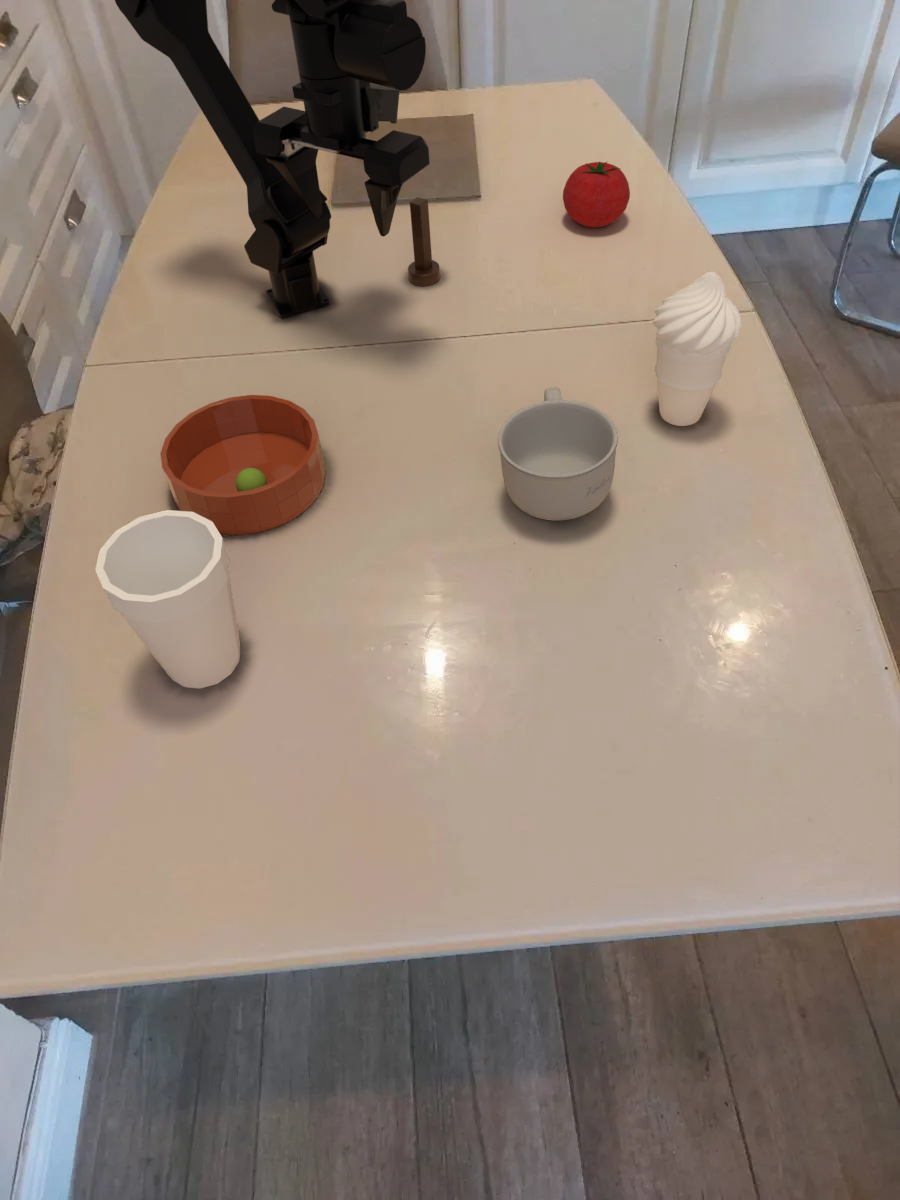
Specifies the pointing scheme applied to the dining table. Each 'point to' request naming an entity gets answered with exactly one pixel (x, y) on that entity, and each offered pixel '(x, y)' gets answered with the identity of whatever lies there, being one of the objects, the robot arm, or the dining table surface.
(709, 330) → the ice cream cone
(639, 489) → the dining table surface
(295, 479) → the bowl
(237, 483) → the grape
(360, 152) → the robot arm
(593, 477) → the teacup
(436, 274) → the stir stick
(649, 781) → the dining table surface
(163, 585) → the foam cup
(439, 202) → the dining table surface
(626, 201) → the tomato
